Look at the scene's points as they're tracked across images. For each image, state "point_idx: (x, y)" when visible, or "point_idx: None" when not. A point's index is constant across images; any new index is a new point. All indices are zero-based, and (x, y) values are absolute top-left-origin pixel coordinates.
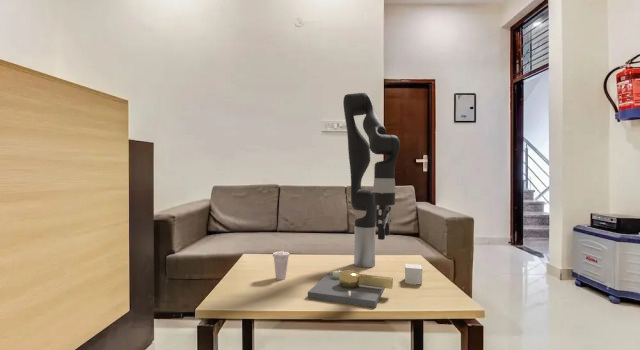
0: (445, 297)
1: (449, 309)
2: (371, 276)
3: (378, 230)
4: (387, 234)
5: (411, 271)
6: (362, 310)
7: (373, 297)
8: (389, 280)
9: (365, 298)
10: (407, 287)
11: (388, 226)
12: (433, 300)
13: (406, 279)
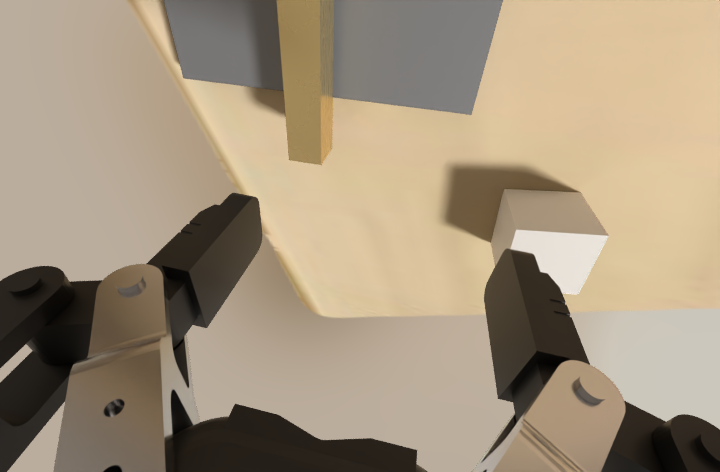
0: (378, 279)
1: (295, 269)
2: (297, 53)
3: (178, 252)
4: (490, 289)
5: (506, 242)
6: (148, 20)
7: (213, 65)
8: (289, 148)
9: (183, 29)
10: (452, 192)
11: (500, 380)
12: (343, 248)
13: (505, 202)
